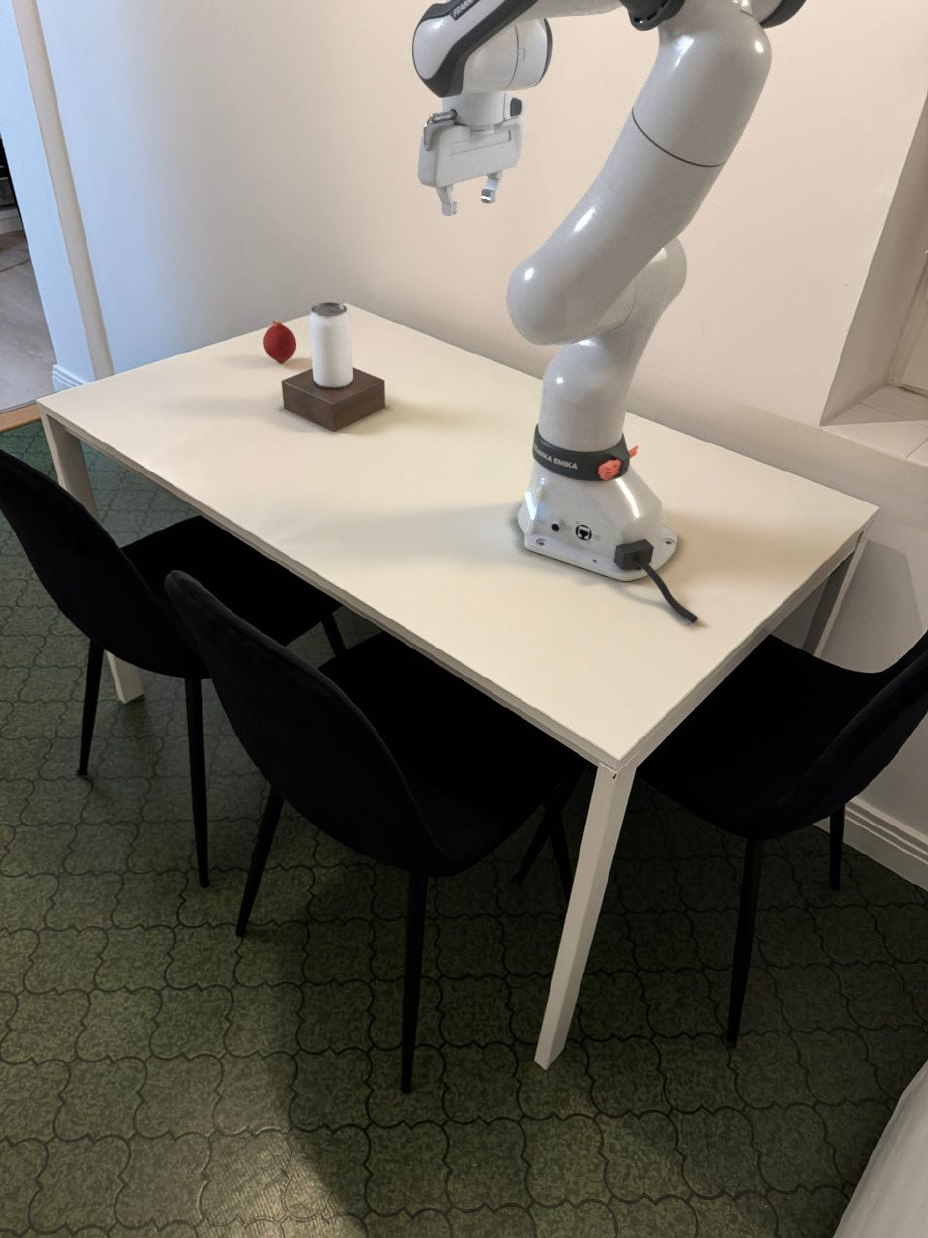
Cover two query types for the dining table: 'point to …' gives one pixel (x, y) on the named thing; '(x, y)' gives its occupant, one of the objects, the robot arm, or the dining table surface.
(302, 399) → the brown square block
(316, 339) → the can
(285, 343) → the onion
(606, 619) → the dining table surface
